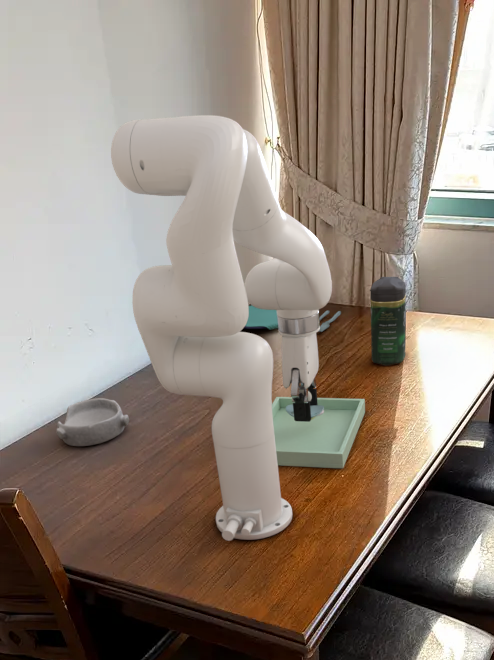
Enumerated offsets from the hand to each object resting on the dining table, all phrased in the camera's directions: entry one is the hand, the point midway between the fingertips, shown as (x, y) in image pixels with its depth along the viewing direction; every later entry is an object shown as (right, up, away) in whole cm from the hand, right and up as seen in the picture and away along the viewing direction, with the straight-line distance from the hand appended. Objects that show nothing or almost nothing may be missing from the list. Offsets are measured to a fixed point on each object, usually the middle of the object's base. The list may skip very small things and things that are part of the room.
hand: (306, 413), depth 148 cm
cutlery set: (-5, +32, +62) cm, 70 cm away
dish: (-44, -3, +12) cm, 45 cm away
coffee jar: (+20, +17, +33) cm, 42 cm away
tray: (0, -4, +2) cm, 5 cm away
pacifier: (0, -1, +1) cm, 1 cm away
